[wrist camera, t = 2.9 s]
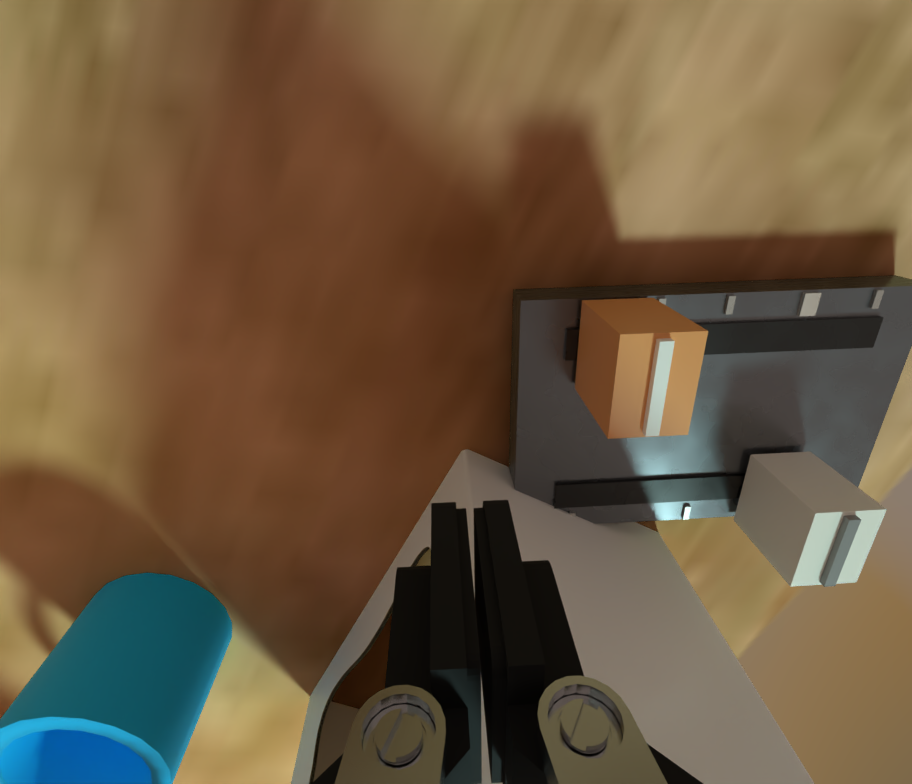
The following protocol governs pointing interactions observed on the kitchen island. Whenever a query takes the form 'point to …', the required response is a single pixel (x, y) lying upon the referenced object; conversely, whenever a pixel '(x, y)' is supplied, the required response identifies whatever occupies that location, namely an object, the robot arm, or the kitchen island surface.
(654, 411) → the fader orange
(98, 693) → the mug
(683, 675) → the gable box
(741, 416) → the console
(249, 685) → the kitchen island surface
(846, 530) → the fader ivory
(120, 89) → the kitchen island surface
